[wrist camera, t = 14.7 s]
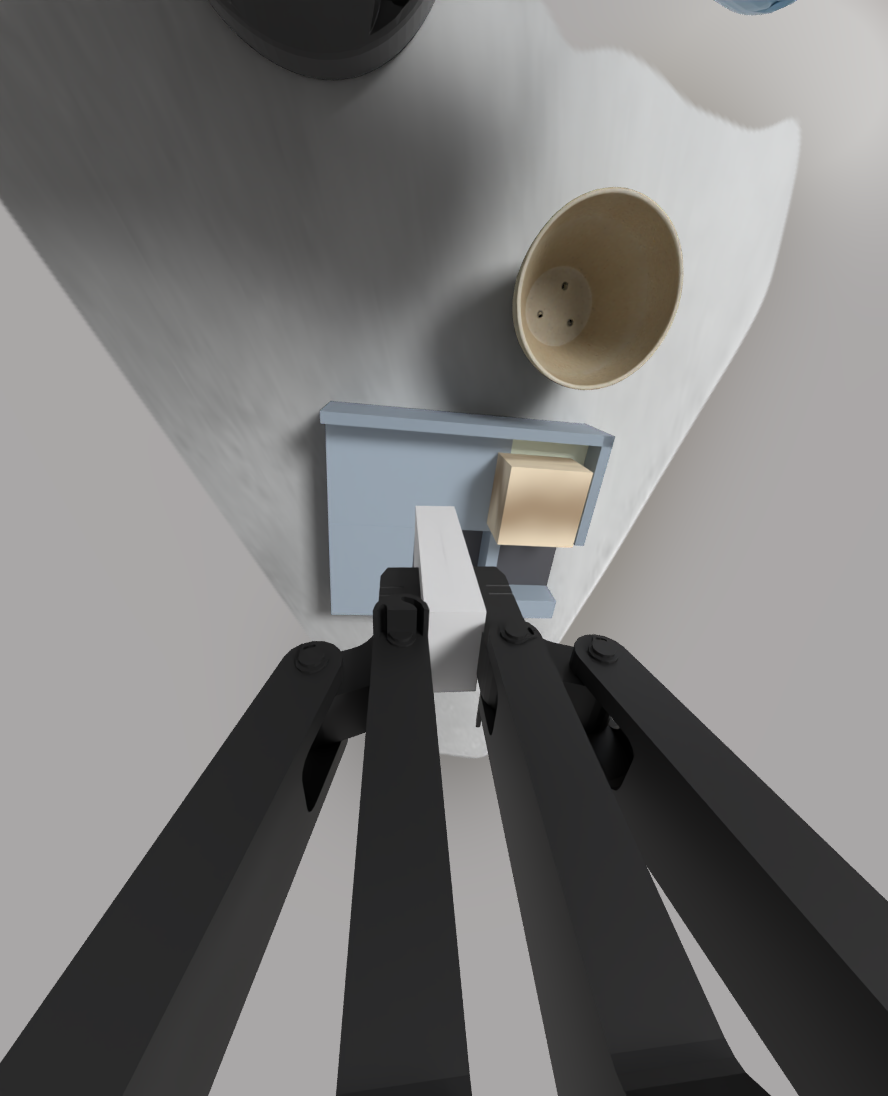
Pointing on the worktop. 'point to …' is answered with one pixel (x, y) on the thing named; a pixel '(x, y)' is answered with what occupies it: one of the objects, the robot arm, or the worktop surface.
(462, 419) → the tray
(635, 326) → the tan bowl
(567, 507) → the block
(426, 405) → the worktop surface
